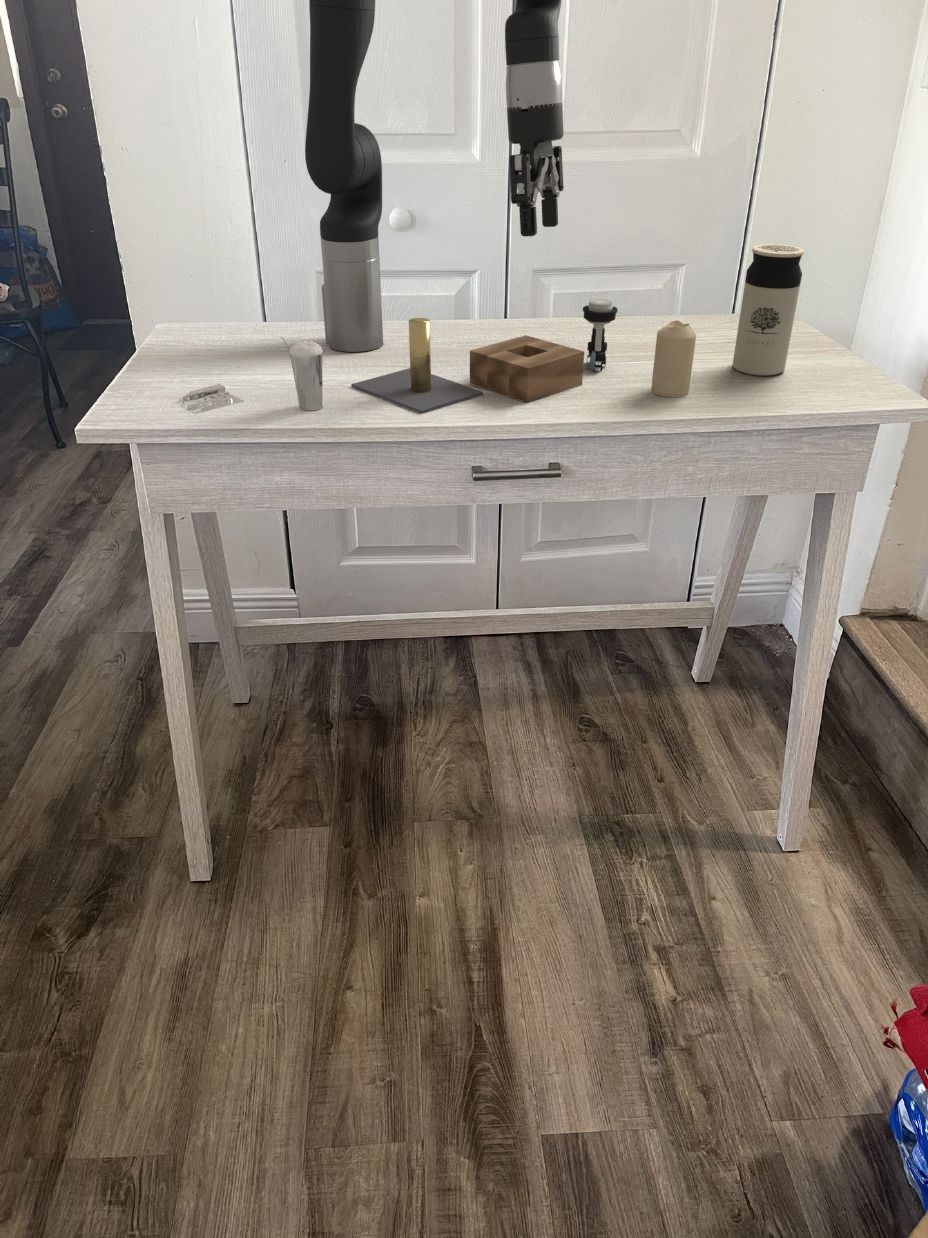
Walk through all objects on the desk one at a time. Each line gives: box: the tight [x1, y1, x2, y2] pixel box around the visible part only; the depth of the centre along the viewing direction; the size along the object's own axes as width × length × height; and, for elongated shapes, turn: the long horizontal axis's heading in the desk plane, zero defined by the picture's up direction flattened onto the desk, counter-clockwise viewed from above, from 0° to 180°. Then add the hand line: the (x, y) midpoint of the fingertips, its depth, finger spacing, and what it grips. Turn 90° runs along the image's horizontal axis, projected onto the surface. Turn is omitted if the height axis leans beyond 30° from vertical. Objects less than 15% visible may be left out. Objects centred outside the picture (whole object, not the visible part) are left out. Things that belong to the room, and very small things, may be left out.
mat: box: [351, 367, 484, 415], centre depth 140 cm, size 16×12×1 cm
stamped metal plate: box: [179, 383, 245, 415], centre depth 136 cm, size 8×7×2 cm
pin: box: [408, 317, 432, 393], centre depth 136 cm, size 3×3×10 cm
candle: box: [650, 319, 697, 398], centre depth 137 cm, size 6×6×10 cm
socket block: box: [469, 335, 585, 404], centre depth 141 cm, size 12×12×5 cm
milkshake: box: [281, 336, 324, 412], centre depth 131 cm, size 4×5×10 cm
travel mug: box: [732, 243, 805, 377], centre depth 144 cm, size 8×8×18 cm
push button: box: [582, 298, 619, 372], centre depth 147 cm, size 7×5×10 cm
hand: (539, 230), depth 135 cm, fingers open, 8 cm apart
